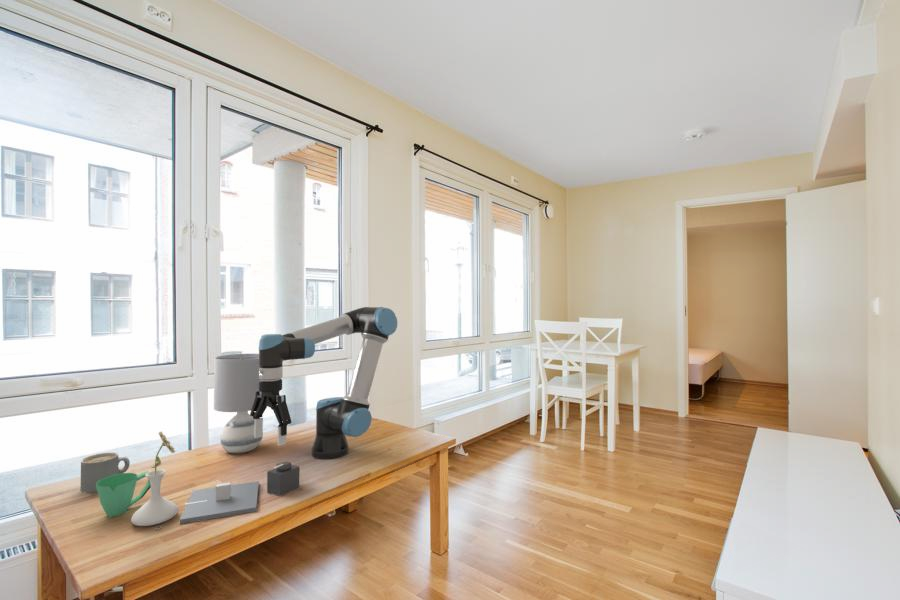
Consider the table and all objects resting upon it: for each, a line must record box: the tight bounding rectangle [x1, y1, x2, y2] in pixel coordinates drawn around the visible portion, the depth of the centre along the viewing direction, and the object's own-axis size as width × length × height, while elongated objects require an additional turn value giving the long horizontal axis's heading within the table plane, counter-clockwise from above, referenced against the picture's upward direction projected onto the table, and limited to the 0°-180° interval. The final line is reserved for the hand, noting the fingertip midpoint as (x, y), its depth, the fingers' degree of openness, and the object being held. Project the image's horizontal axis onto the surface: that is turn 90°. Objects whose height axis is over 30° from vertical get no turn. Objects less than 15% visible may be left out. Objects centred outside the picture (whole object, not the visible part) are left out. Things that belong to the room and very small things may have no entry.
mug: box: [96, 471, 151, 517], centre depth 129 cm, size 15×10×10 cm
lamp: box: [213, 353, 264, 454], centre depth 180 cm, size 22×22×40 cm
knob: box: [266, 461, 301, 497], centre depth 143 cm, size 8×6×9 cm
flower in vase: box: [130, 431, 179, 527], centre depth 123 cm, size 13×11×25 cm
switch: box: [179, 480, 260, 525], centre depth 133 cm, size 20×20×6 cm
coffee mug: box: [80, 451, 131, 494], centre depth 145 cm, size 13×10×10 cm
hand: (269, 441), depth 144 cm, fingers open, 13 cm apart
